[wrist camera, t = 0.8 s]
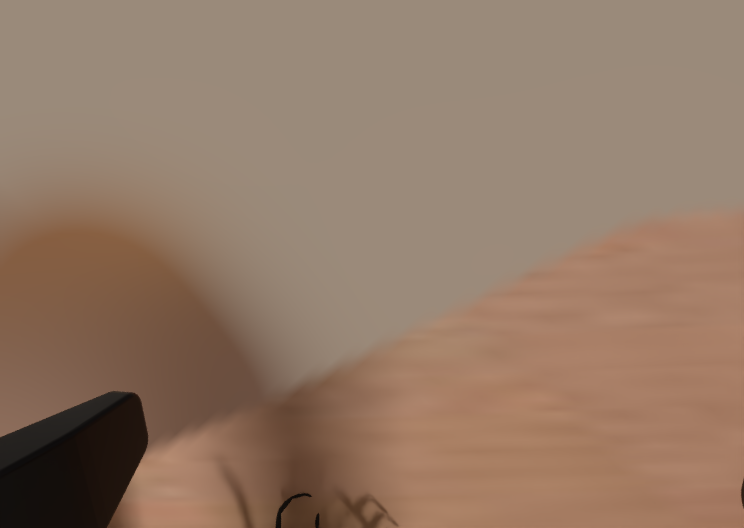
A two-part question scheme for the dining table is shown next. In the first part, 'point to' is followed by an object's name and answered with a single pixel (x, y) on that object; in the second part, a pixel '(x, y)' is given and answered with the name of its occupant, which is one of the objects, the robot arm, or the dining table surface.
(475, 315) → the dining table surface
